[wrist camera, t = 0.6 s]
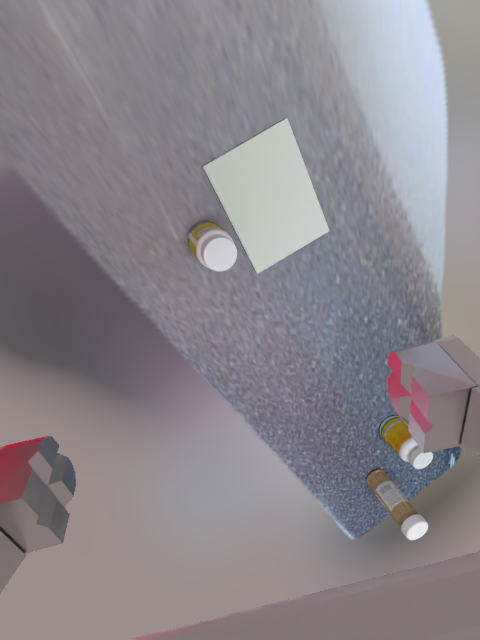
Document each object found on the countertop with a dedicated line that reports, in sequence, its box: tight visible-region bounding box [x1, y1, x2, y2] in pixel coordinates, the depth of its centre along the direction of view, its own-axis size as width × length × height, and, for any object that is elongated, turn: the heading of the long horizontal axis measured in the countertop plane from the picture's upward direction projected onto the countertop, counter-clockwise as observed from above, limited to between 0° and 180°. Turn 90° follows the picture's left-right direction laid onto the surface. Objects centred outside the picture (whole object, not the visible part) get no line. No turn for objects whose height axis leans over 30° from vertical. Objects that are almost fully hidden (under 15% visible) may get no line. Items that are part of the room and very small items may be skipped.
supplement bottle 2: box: [379, 416, 433, 469], centre depth 74 cm, size 5×5×10 cm
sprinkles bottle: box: [366, 469, 428, 540], centre depth 77 cm, size 5×5×13 cm
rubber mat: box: [202, 118, 329, 274], centre depth 53 cm, size 16×12×1 cm
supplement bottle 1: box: [188, 221, 237, 271], centre depth 49 cm, size 5×5×8 cm
